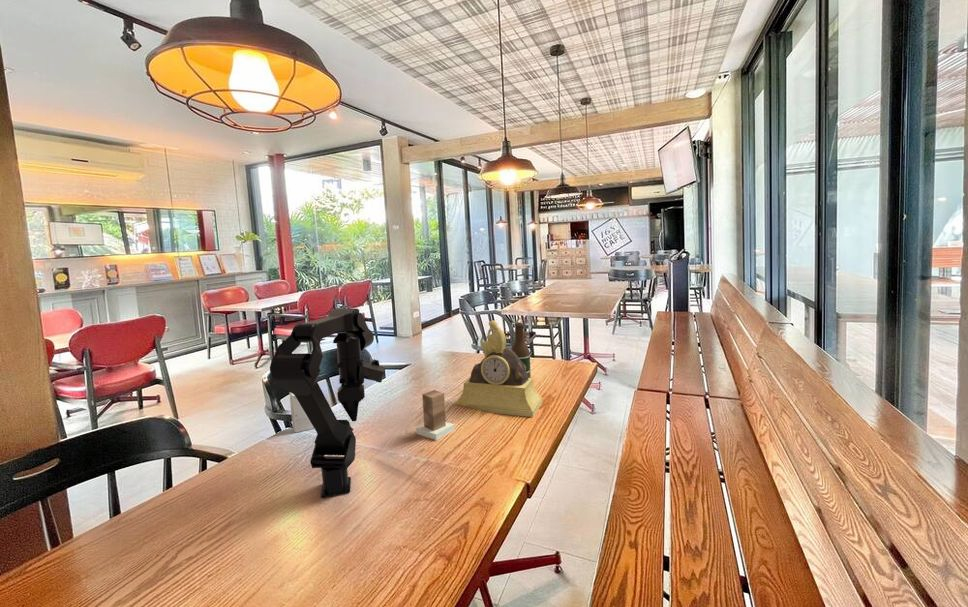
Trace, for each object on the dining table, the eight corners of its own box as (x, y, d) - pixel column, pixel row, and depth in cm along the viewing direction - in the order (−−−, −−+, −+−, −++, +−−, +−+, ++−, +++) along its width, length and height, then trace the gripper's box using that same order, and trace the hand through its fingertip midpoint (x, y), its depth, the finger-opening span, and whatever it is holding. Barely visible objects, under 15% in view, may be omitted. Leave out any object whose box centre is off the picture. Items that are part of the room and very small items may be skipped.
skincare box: (295, 433, 133) (290, 396, 131) (292, 428, 136) (288, 392, 135) (315, 428, 136) (311, 391, 134) (312, 423, 140) (308, 387, 138)
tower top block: (454, 430, 127) (454, 424, 127) (436, 441, 121) (436, 434, 121) (435, 424, 132) (434, 418, 132) (416, 434, 126) (416, 428, 125)
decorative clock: (453, 408, 147) (449, 323, 143) (468, 396, 159) (464, 316, 155) (533, 417, 137) (530, 326, 133) (542, 403, 149) (540, 318, 145)
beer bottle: (509, 384, 170) (507, 325, 167) (513, 378, 177) (512, 321, 174) (528, 385, 168) (527, 325, 164) (532, 379, 175) (530, 321, 172)
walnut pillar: (445, 425, 126) (444, 393, 125) (434, 430, 123) (432, 397, 121) (435, 421, 129) (434, 390, 128) (424, 426, 126) (422, 394, 125)
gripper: (383, 362, 103) (387, 423, 105) (380, 345, 121) (384, 398, 123) (334, 367, 100) (340, 430, 102) (338, 349, 118) (343, 403, 120)
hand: (354, 414), depth 112 cm, fingers open, 9 cm apart
